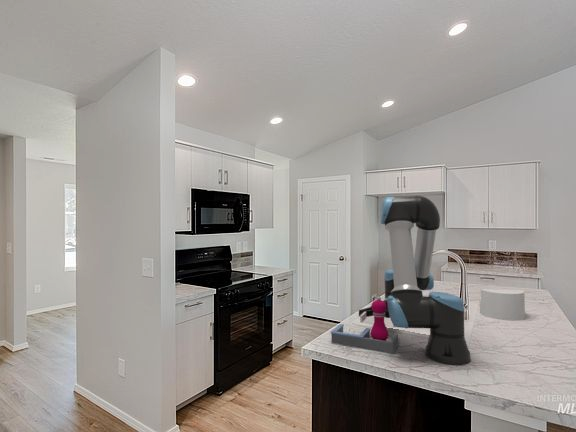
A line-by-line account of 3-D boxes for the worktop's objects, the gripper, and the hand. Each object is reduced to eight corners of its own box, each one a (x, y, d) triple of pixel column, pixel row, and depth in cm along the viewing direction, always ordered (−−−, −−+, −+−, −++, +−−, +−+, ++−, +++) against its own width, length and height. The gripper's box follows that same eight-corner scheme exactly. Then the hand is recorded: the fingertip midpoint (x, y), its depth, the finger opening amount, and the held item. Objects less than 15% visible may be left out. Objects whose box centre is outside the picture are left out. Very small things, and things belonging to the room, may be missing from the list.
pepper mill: (389, 349, 133) (388, 298, 134) (371, 348, 135) (370, 298, 135) (388, 342, 141) (387, 294, 141) (370, 341, 142) (369, 294, 142)
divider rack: (398, 343, 139) (398, 332, 139) (392, 353, 129) (392, 341, 129) (340, 334, 151) (340, 324, 151) (330, 343, 141) (330, 332, 141)
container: (513, 310, 184) (512, 286, 184) (533, 321, 165) (532, 294, 165) (474, 309, 188) (473, 285, 188) (488, 320, 168) (488, 293, 168)
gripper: (417, 319, 148) (409, 335, 129) (362, 312, 160) (348, 326, 141) (417, 302, 148) (409, 316, 129) (362, 296, 160) (347, 308, 141)
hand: (377, 321), depth 135 cm, fingers open, 13 cm apart
